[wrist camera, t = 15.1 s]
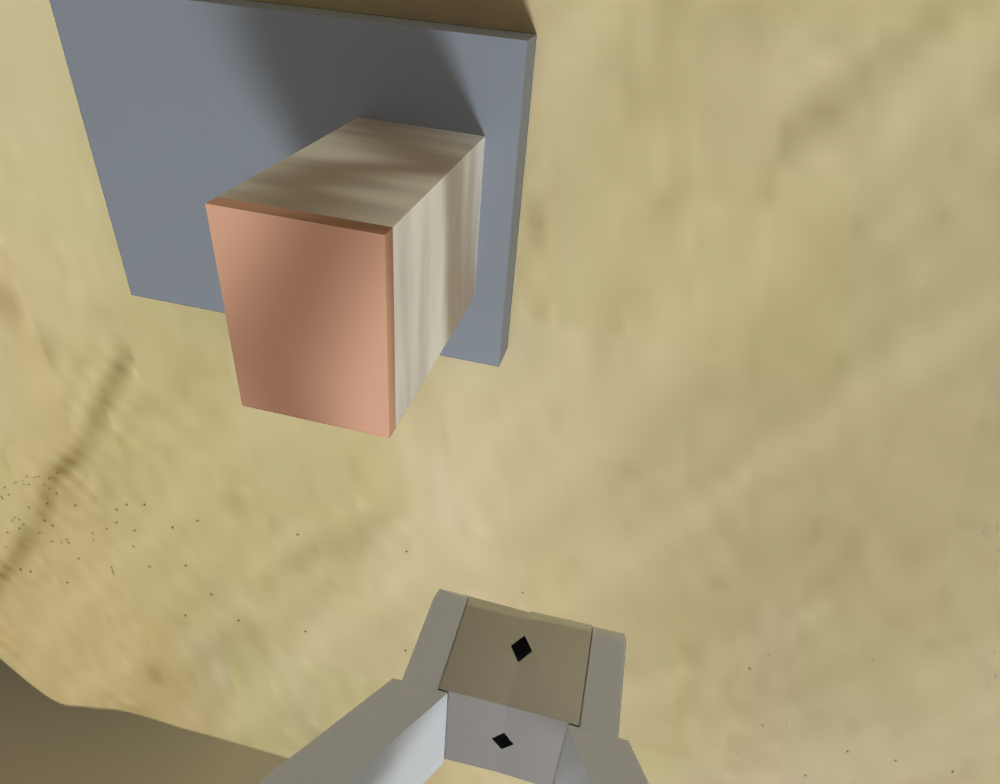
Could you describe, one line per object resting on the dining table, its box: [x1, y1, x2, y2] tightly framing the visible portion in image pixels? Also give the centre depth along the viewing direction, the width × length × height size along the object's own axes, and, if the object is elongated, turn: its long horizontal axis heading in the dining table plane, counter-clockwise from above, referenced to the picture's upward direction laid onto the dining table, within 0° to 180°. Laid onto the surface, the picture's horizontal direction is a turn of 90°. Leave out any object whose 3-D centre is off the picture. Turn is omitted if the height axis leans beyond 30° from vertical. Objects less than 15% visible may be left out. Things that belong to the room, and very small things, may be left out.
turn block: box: [205, 117, 485, 438], centre depth 21 cm, size 4×6×9 cm
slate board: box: [50, 0, 537, 367], centre depth 26 cm, size 17×12×2 cm
